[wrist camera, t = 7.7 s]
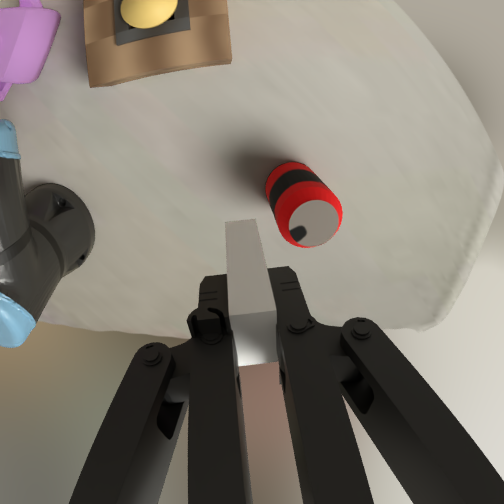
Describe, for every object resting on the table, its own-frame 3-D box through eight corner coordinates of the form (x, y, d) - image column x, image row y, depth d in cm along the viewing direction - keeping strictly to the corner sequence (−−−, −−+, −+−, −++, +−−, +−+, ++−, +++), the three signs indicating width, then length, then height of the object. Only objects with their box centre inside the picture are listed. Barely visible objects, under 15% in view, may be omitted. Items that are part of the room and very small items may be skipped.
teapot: (30, -11, 19) (-8, -21, 10) (79, -10, 22) (44, -26, 13) (-7, 92, 27) (-48, 103, 18) (36, 102, 30) (-6, 113, 21)
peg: (142, 43, 29) (122, 33, 22) (139, 5, 26) (119, -12, 18) (187, 34, 29) (178, 20, 22) (184, -5, 26) (175, -25, 19)
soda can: (254, 180, 41) (266, 216, 31) (300, 151, 39) (328, 177, 29) (282, 219, 44) (300, 265, 34) (325, 193, 43) (356, 231, 32)
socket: (110, 86, 31) (87, 87, 25) (103, -13, 23) (81, -28, 16) (230, 63, 32) (232, 58, 25) (221, -38, 23) (221, -61, 17)
